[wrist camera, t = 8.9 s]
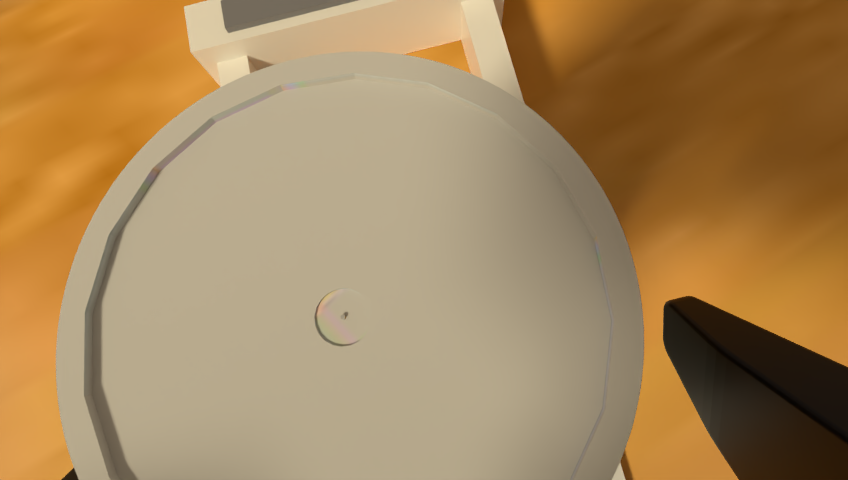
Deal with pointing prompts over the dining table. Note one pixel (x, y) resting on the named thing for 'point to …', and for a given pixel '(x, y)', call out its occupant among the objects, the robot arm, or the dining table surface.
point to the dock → (345, 33)
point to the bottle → (352, 290)
